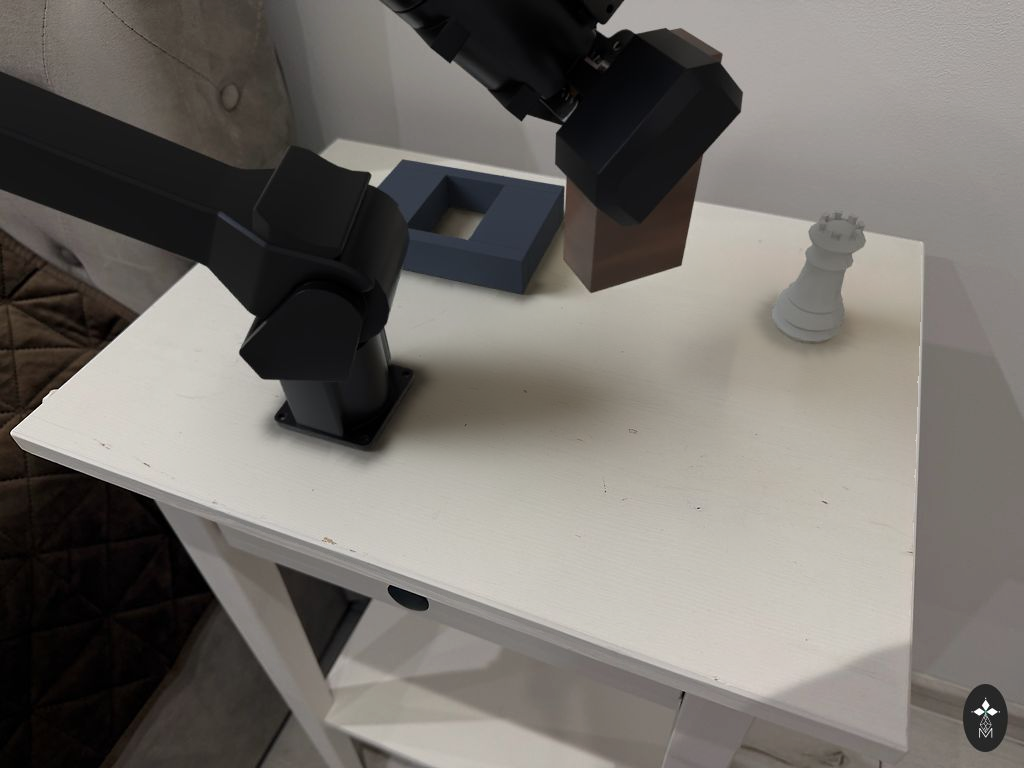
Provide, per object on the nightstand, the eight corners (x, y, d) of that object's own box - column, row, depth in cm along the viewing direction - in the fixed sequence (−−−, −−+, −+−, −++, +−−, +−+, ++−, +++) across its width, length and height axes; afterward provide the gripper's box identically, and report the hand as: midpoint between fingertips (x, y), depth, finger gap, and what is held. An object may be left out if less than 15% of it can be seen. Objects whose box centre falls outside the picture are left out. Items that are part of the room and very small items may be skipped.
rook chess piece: (853, 333, 46) (899, 231, 40) (800, 355, 45) (840, 253, 39) (806, 294, 49) (843, 194, 43) (755, 314, 47) (786, 213, 42)
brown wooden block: (682, 266, 40) (723, 53, 31) (590, 294, 39) (607, 78, 30) (650, 234, 42) (681, 26, 34) (562, 259, 41) (570, 49, 32)
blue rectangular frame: (523, 295, 50) (522, 261, 47) (350, 258, 53) (342, 225, 51) (563, 218, 56) (564, 185, 54) (407, 190, 59) (402, 158, 57)
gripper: (764, -267, 17) (924, 96, 27) (476, -300, 28) (669, -37, 39) (477, 118, 20) (718, 303, 31) (328, -52, 32) (541, 125, 43)
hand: (656, 153), depth 36 cm, fingers closed on brown wooden block, 3 cm apart
